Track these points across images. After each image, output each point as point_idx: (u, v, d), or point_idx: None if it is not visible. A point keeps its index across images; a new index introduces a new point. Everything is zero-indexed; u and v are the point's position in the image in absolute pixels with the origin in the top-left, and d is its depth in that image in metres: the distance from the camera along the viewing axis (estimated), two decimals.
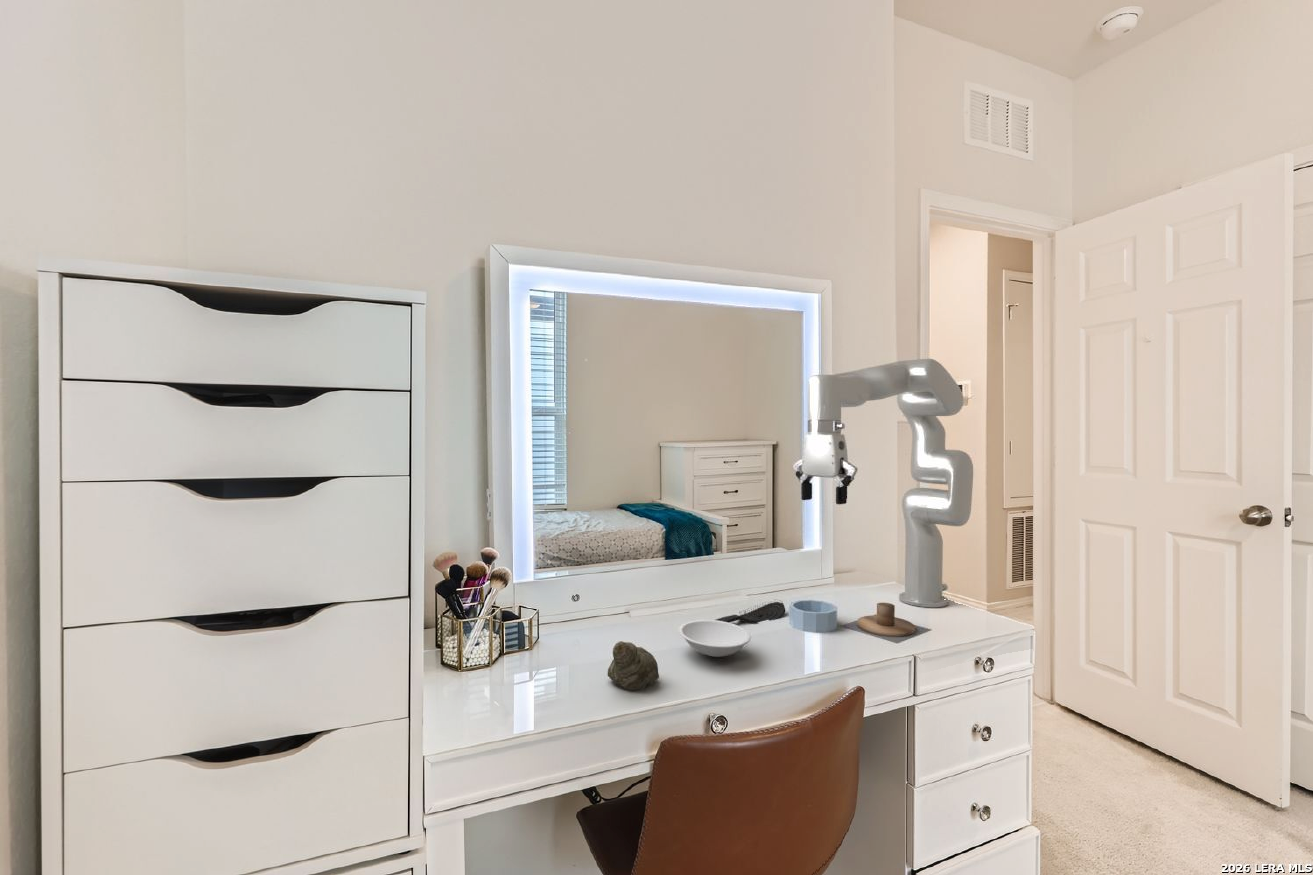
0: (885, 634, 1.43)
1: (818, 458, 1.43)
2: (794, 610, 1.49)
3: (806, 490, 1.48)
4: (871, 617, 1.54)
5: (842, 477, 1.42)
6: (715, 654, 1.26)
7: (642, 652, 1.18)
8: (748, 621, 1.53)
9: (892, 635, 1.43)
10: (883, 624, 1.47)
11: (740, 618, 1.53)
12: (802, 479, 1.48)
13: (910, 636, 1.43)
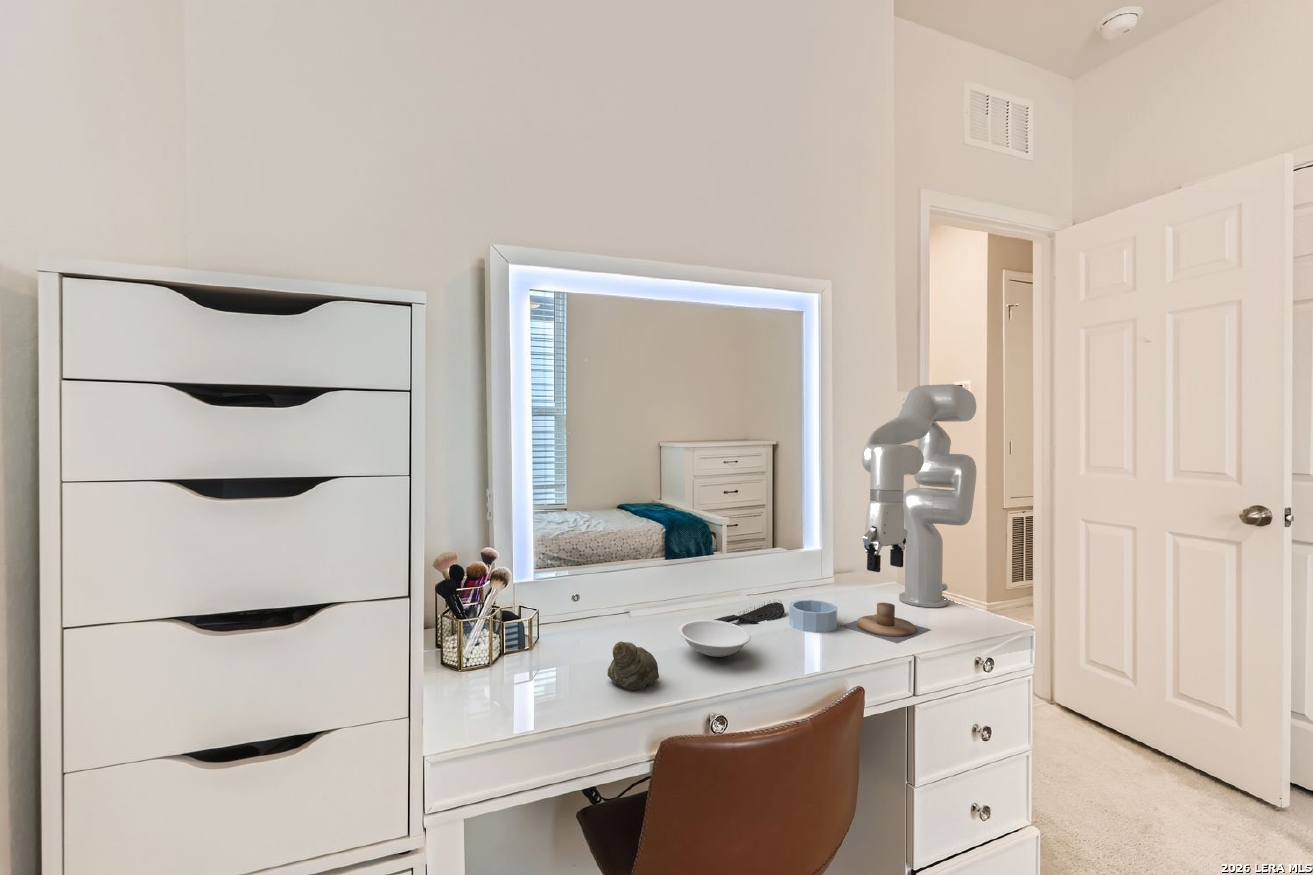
0: (885, 634, 1.43)
1: (896, 527, 1.47)
2: (794, 610, 1.49)
3: None
4: (871, 617, 1.54)
5: None
6: (715, 654, 1.26)
7: (642, 652, 1.18)
8: (747, 621, 1.53)
9: (892, 635, 1.43)
10: (883, 624, 1.47)
11: (739, 618, 1.53)
12: (878, 551, 1.44)
13: (910, 636, 1.43)
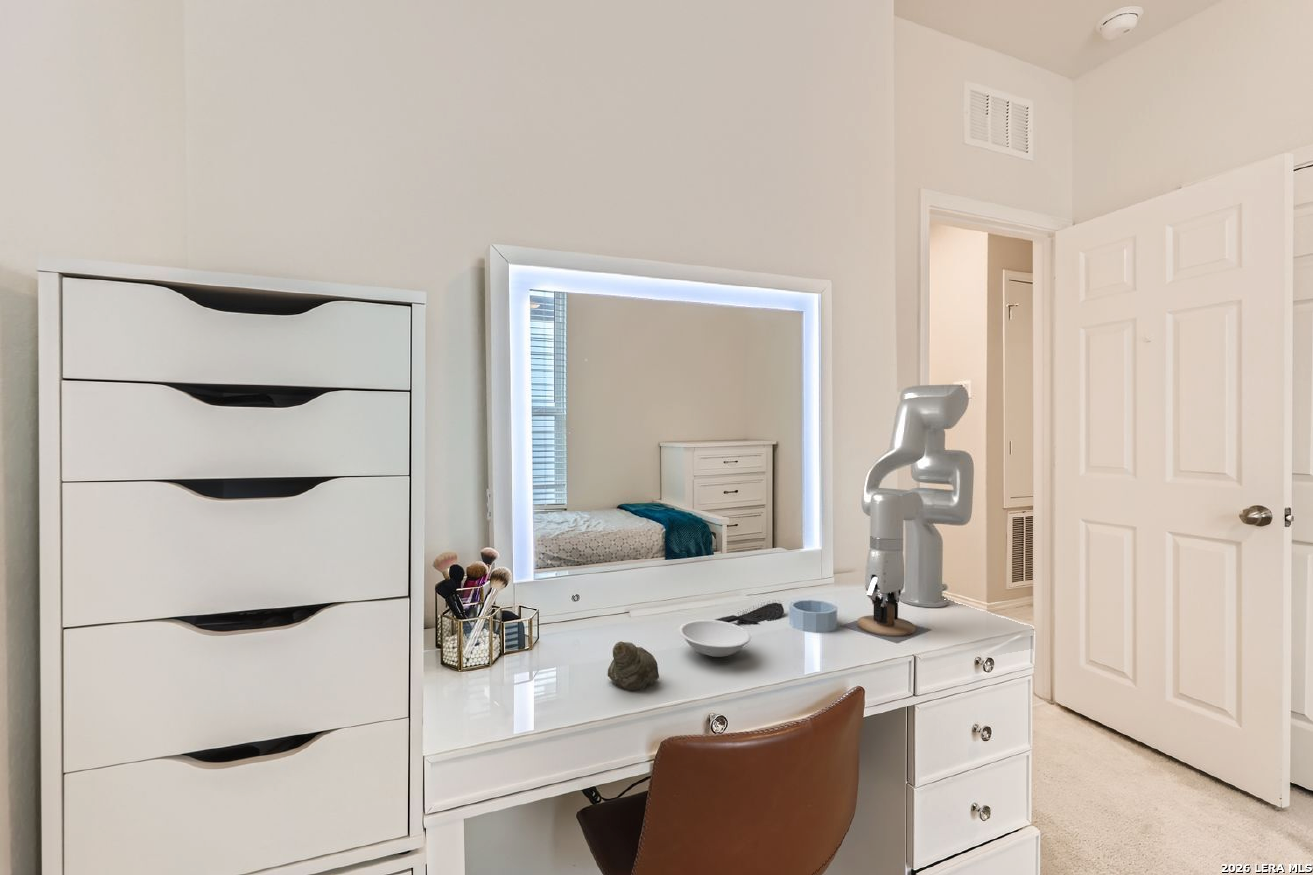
0: (885, 634, 1.43)
1: (896, 574, 1.47)
2: (794, 610, 1.49)
3: None
4: (871, 617, 1.54)
5: None
6: (715, 654, 1.26)
7: (642, 652, 1.18)
8: (746, 622, 1.53)
9: (892, 635, 1.43)
10: (883, 624, 1.47)
11: (738, 619, 1.53)
12: (884, 602, 1.46)
13: (910, 636, 1.43)
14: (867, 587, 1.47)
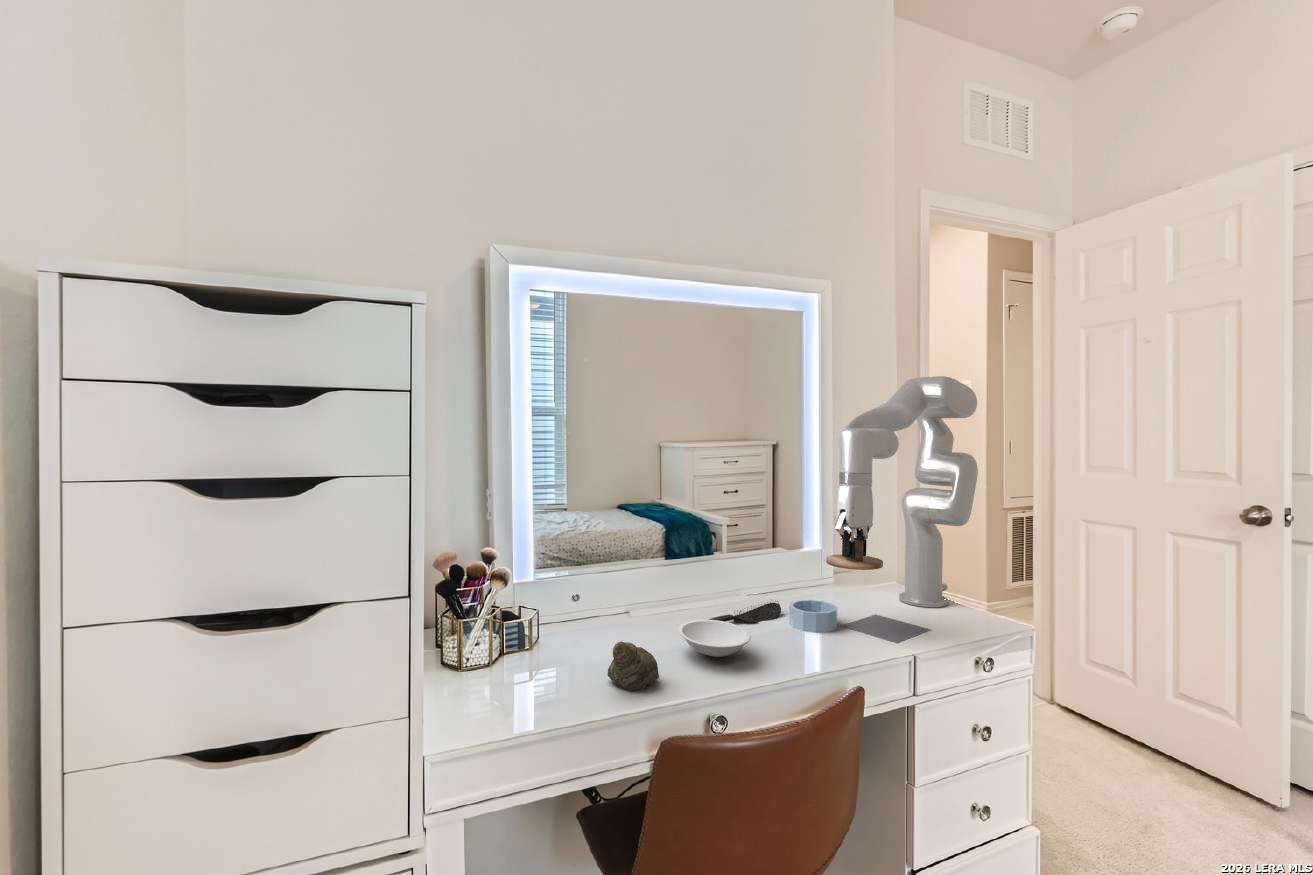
0: (853, 567, 1.43)
1: (864, 510, 1.48)
2: (794, 610, 1.49)
3: None
4: (840, 555, 1.54)
5: (858, 528, 1.52)
6: (715, 654, 1.26)
7: (642, 652, 1.18)
8: (742, 621, 1.53)
9: (860, 568, 1.43)
10: (852, 559, 1.48)
11: (734, 618, 1.53)
12: (852, 537, 1.46)
13: (910, 636, 1.43)
14: (836, 522, 1.47)
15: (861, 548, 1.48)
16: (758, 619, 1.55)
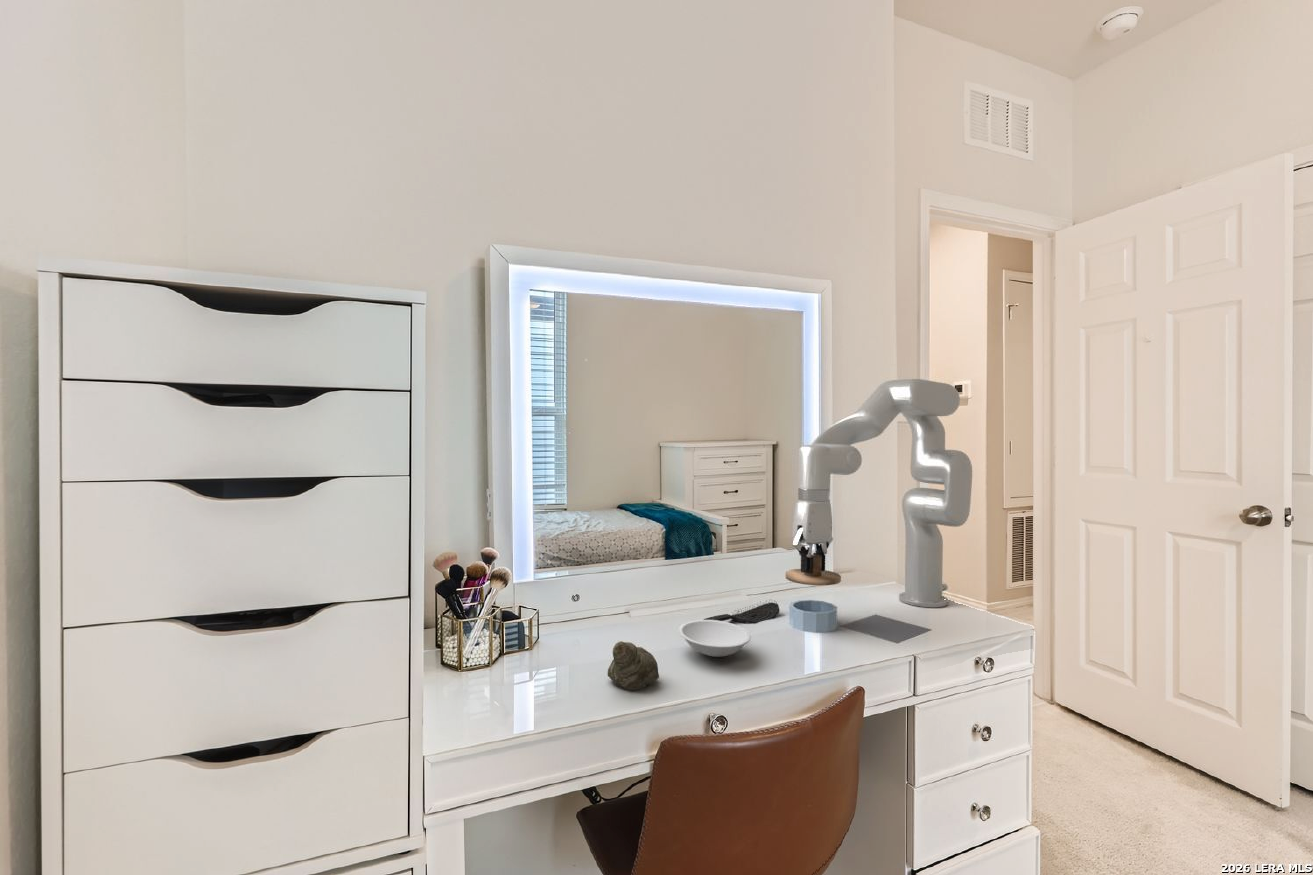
0: (810, 583, 1.45)
1: (822, 525, 1.49)
2: (794, 610, 1.49)
3: None
4: None
5: (817, 543, 1.53)
6: (715, 654, 1.26)
7: (642, 652, 1.18)
8: (739, 621, 1.54)
9: (816, 584, 1.44)
10: (810, 574, 1.49)
11: (731, 617, 1.54)
12: (810, 552, 1.48)
13: (910, 636, 1.43)
14: (794, 538, 1.49)
15: (819, 563, 1.49)
16: (756, 619, 1.56)
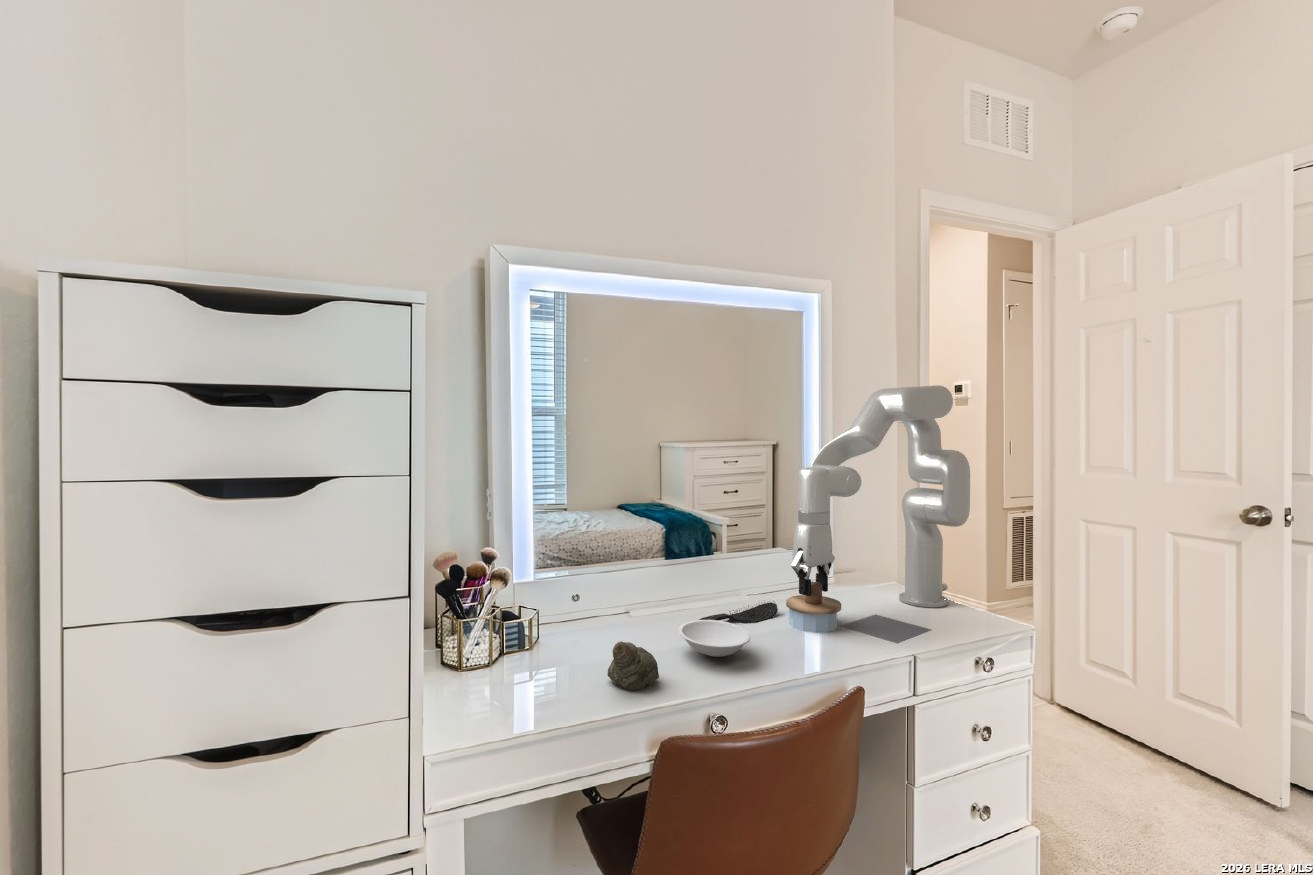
0: (810, 612, 1.45)
1: (822, 548, 1.49)
2: None
3: None
4: (801, 596, 1.56)
5: None
6: (715, 654, 1.26)
7: (642, 652, 1.18)
8: (737, 620, 1.54)
9: (816, 613, 1.45)
10: (810, 602, 1.49)
11: (728, 617, 1.54)
12: (808, 575, 1.48)
13: (910, 636, 1.43)
14: None
15: (819, 591, 1.49)
16: (753, 618, 1.56)
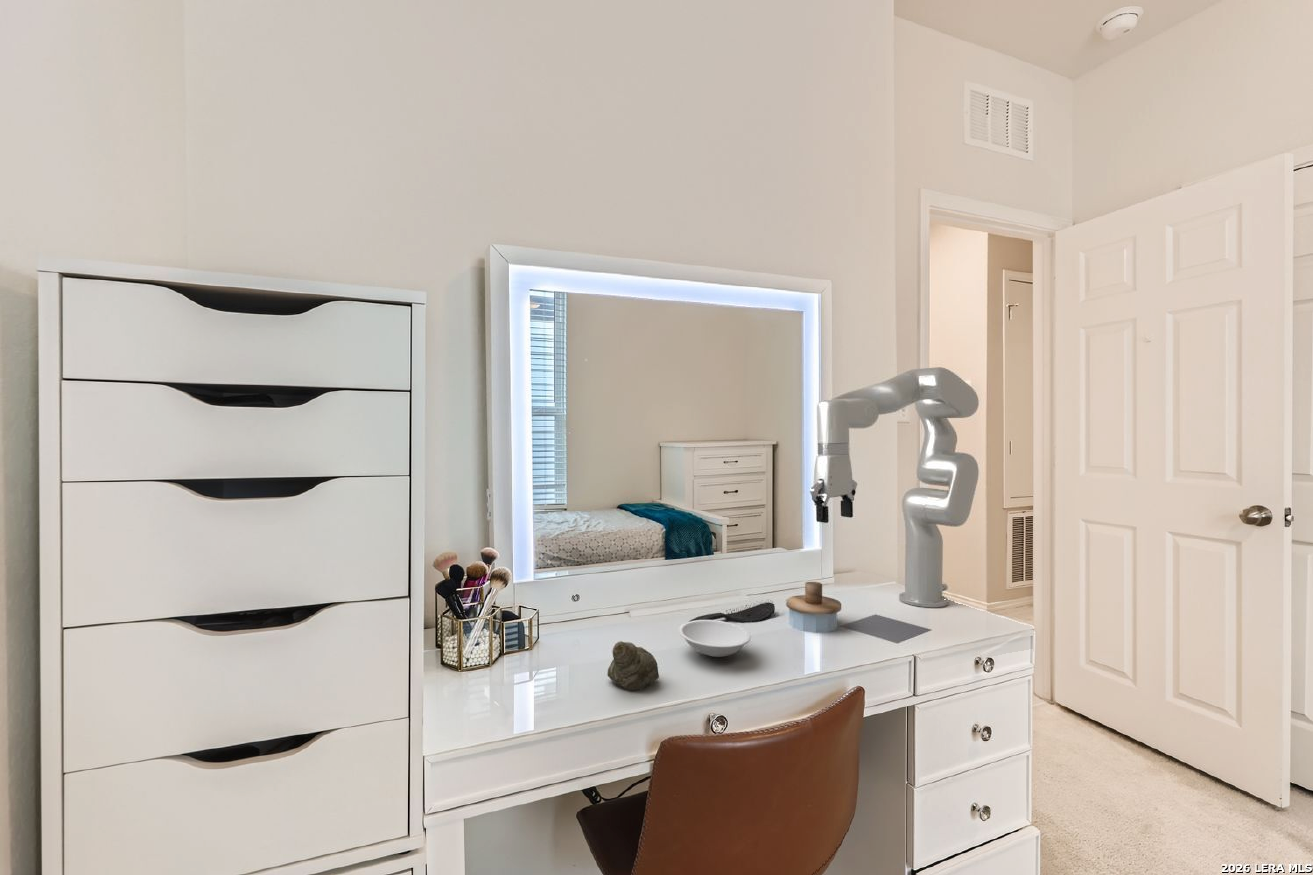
0: (810, 612, 1.45)
1: (843, 478, 1.51)
2: None
3: None
4: (801, 596, 1.56)
5: None
6: (715, 654, 1.26)
7: (642, 652, 1.18)
8: (733, 619, 1.55)
9: (816, 613, 1.45)
10: (810, 602, 1.49)
11: (724, 616, 1.55)
12: (825, 502, 1.49)
13: (910, 636, 1.43)
14: None
15: (819, 591, 1.49)
16: (750, 618, 1.56)
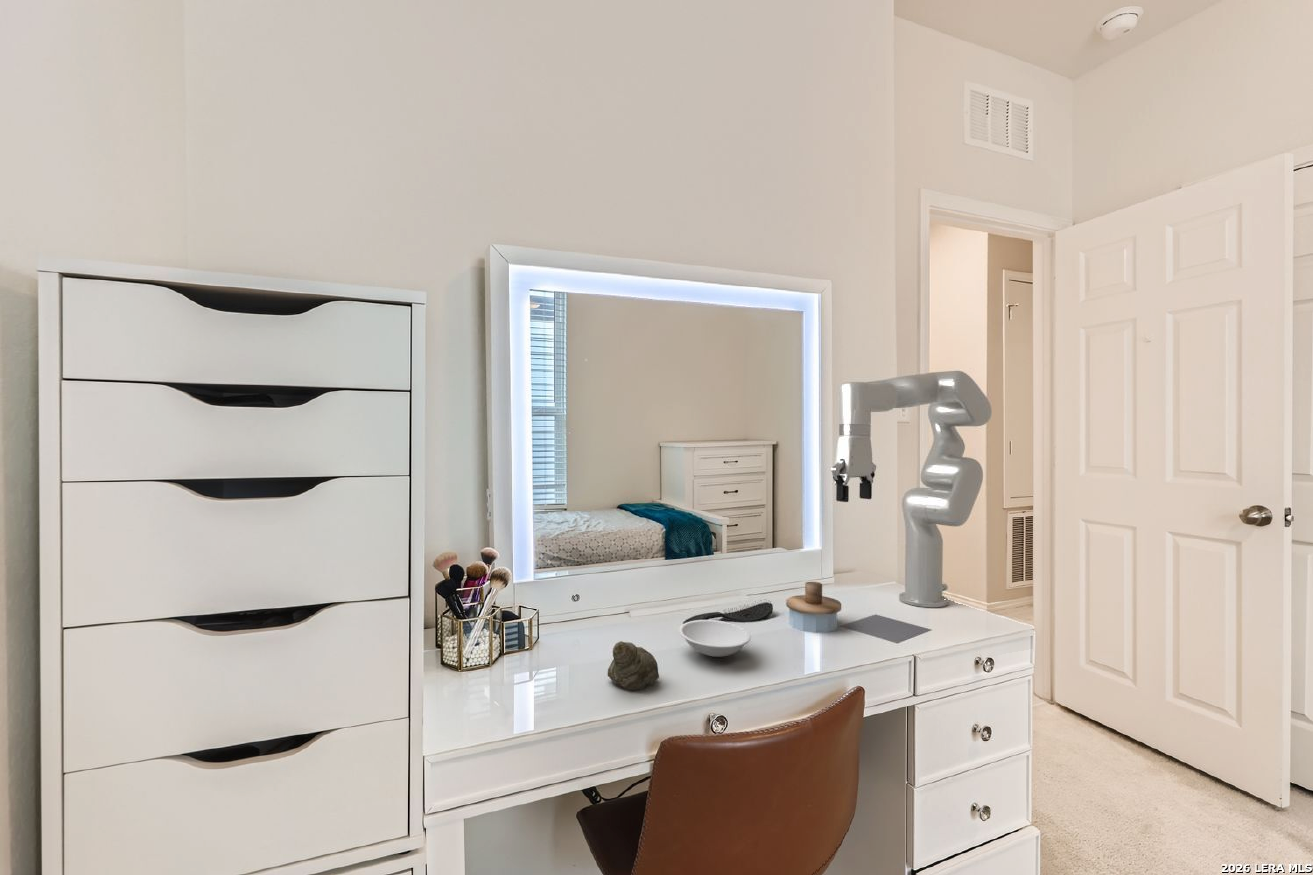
0: (810, 612, 1.45)
1: (863, 459, 1.54)
2: None
3: None
4: (801, 596, 1.56)
5: None
6: (715, 654, 1.26)
7: (642, 652, 1.18)
8: (730, 619, 1.55)
9: (816, 613, 1.45)
10: (810, 602, 1.49)
11: (721, 615, 1.55)
12: (846, 482, 1.51)
13: (910, 636, 1.43)
14: None
15: (819, 591, 1.49)
16: (747, 618, 1.56)
